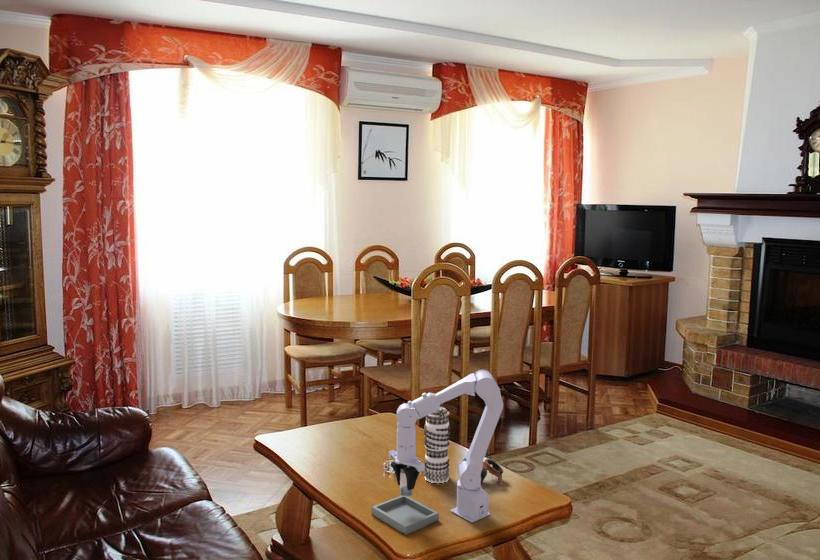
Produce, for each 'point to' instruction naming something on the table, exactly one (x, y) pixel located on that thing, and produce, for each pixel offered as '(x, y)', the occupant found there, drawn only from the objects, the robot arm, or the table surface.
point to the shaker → (404, 483)
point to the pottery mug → (491, 470)
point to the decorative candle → (437, 446)
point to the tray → (405, 514)
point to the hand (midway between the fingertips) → (406, 486)
